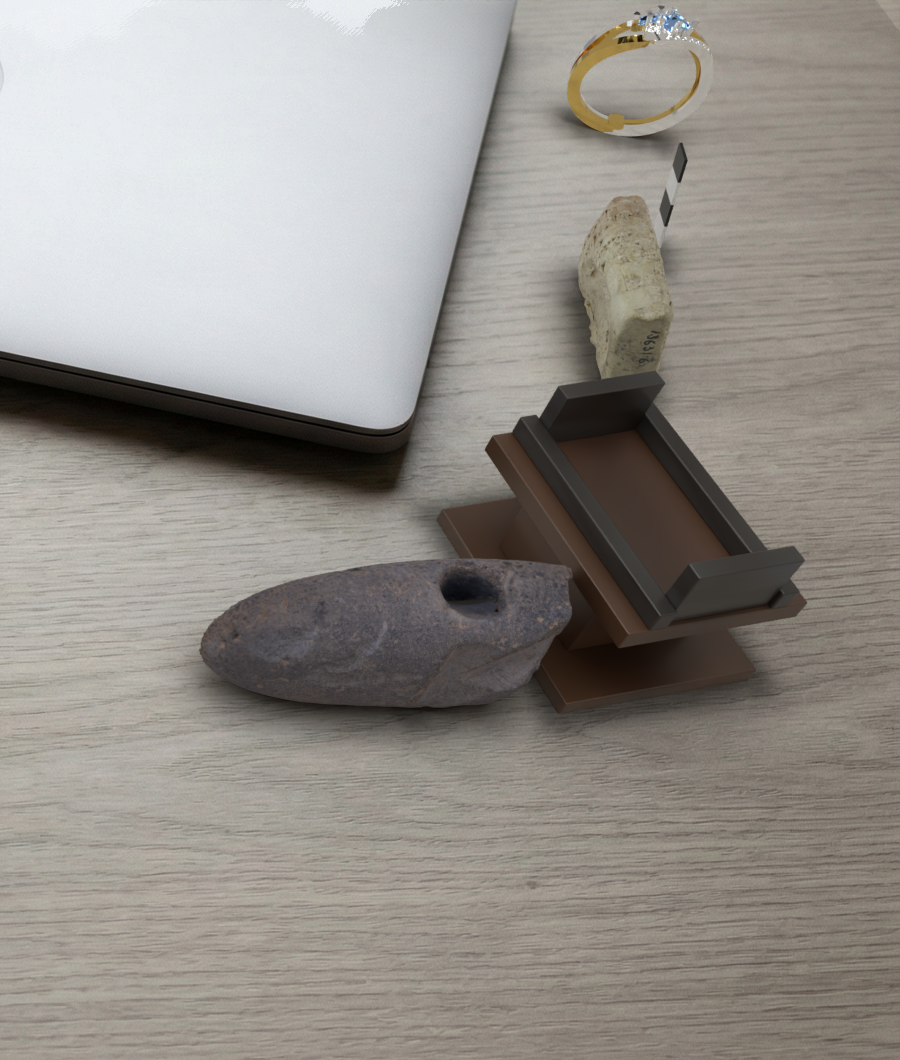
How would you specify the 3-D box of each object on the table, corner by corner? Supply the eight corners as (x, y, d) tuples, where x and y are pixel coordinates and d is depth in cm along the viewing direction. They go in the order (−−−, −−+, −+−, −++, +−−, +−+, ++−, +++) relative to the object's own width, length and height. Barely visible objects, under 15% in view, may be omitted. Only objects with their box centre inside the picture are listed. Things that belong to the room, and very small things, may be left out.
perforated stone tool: (194, 729, 72) (237, 635, 67) (172, 628, 76) (212, 531, 70) (548, 732, 72) (620, 638, 67) (511, 631, 76) (576, 534, 70)
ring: (543, 135, 97) (603, 15, 91) (547, 103, 99) (606, -17, 93) (673, 165, 96) (744, 44, 89) (675, 131, 97) (744, 11, 91)
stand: (609, 493, 81) (699, 359, 74) (746, 682, 74) (860, 555, 67) (433, 522, 80) (508, 389, 72) (556, 717, 73) (651, 591, 66)
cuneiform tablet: (649, 250, 91) (693, 411, 84) (557, 253, 92) (592, 411, 85) (682, 142, 86) (732, 302, 78) (583, 146, 87) (623, 305, 80)
